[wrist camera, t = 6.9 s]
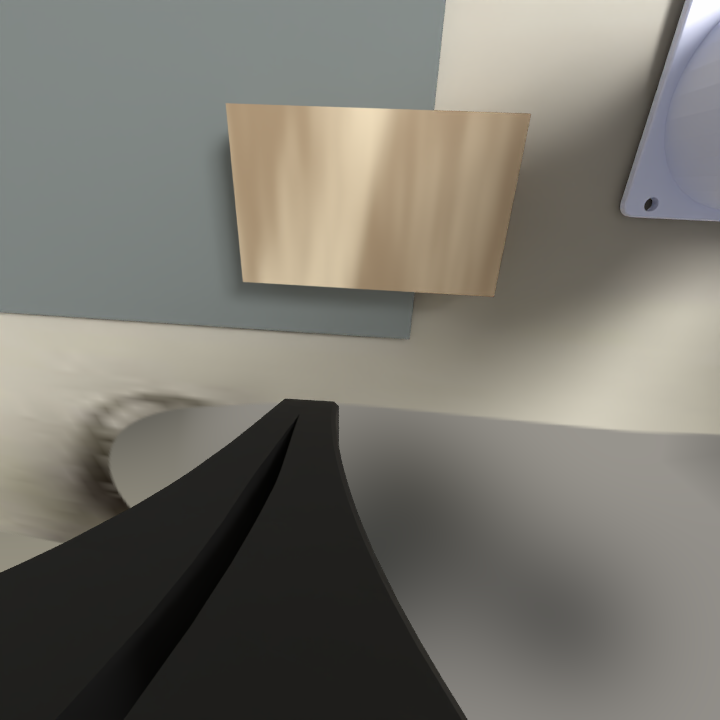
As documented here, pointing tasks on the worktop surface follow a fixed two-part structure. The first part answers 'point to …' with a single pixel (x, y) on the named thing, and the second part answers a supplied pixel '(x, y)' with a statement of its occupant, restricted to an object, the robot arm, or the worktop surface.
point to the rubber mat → (180, 149)
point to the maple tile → (374, 196)
